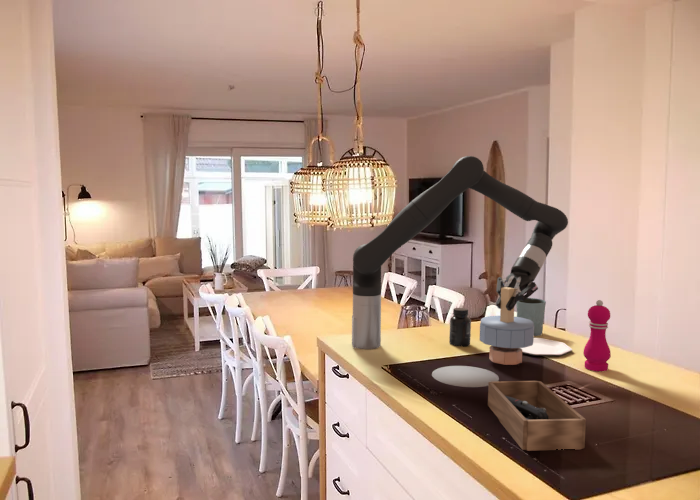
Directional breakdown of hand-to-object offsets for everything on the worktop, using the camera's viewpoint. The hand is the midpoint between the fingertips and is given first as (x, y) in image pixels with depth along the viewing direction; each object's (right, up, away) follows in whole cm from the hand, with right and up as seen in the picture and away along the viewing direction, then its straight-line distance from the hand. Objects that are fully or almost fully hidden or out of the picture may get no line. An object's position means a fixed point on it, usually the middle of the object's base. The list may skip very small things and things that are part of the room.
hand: (503, 307), depth 170 cm
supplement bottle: (-9, -15, +21) cm, 27 cm away
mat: (-14, -18, -12) cm, 25 cm away
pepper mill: (+26, -17, -3) cm, 31 cm away
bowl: (+1, -16, +3) cm, 17 cm away
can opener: (-8, -21, -42) cm, 48 cm away
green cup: (+19, -13, +37) cm, 44 cm away
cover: (+2, -10, +2) cm, 11 cm away
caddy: (-6, -21, -44) cm, 50 cm away
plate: (+15, -16, +17) cm, 28 cm away
